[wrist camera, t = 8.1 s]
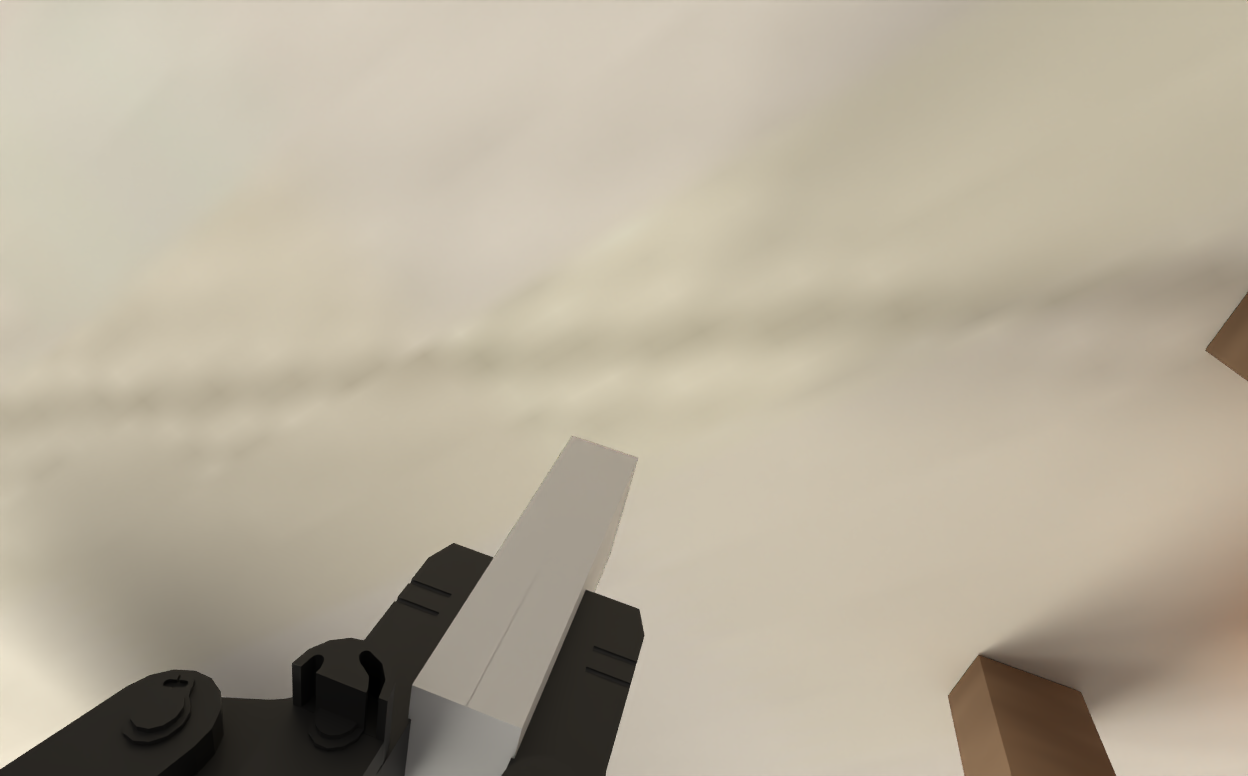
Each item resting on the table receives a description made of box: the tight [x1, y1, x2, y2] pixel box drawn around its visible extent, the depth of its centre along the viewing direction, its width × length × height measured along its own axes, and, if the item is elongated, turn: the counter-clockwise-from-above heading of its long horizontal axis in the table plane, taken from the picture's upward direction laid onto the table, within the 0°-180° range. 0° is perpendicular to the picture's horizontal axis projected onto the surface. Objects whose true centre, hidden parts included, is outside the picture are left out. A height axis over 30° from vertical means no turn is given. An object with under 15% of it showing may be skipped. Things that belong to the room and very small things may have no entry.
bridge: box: [948, 293, 1248, 776], centre depth 13 cm, size 3×14×9 cm, turn 167°
